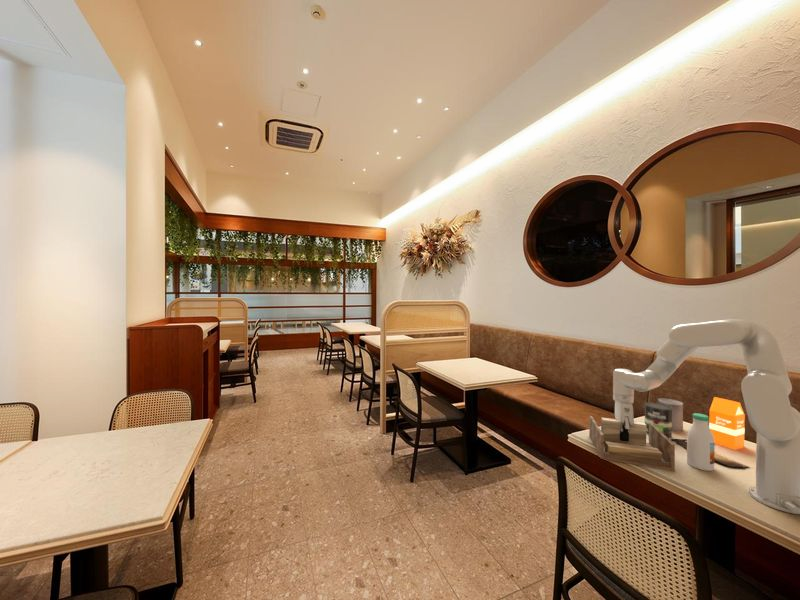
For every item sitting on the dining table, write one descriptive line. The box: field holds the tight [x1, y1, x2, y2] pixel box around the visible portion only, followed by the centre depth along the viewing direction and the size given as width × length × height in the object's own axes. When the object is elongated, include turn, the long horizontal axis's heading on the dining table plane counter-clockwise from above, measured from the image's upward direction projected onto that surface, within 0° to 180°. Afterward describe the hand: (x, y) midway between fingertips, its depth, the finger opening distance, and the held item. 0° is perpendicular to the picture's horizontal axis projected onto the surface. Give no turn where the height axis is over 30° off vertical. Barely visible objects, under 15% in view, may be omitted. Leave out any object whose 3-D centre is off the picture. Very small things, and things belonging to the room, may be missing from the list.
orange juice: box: [708, 396, 746, 450], centre depth 141 cm, size 8×9×20 cm
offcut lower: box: [605, 447, 662, 461], centre depth 127 cm, size 4×18×2 cm, turn 69°
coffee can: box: [644, 402, 673, 440], centre depth 150 cm, size 10×10×14 cm
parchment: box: [670, 438, 749, 470], centre depth 132 cm, size 25×10×1 cm, turn 8°
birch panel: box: [600, 417, 647, 447], centre depth 139 cm, size 3×16×10 cm, turn 69°
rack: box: [588, 415, 676, 472], centre depth 133 cm, size 22×24×10 cm
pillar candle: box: [657, 397, 684, 433], centre depth 158 cm, size 10×10×15 cm
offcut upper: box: [605, 441, 662, 458], centre depth 127 cm, size 4×18×2 cm, turn 72°
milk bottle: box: [686, 412, 716, 472], centre depth 122 cm, size 8×8×20 cm
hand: (622, 438), depth 139 cm, fingers closed on birch panel, 3 cm apart
